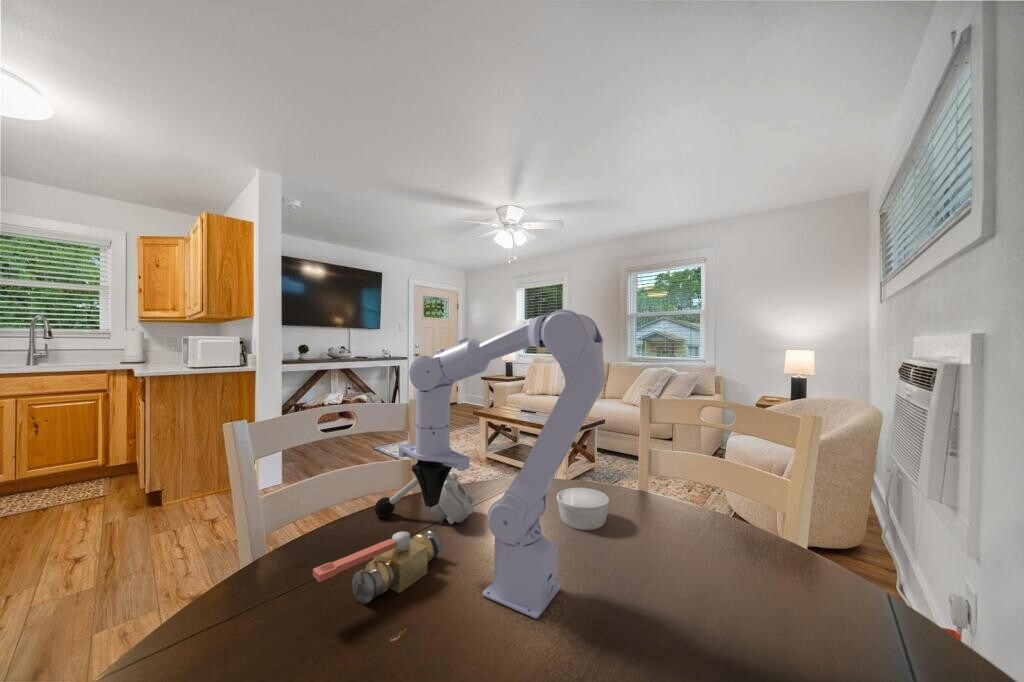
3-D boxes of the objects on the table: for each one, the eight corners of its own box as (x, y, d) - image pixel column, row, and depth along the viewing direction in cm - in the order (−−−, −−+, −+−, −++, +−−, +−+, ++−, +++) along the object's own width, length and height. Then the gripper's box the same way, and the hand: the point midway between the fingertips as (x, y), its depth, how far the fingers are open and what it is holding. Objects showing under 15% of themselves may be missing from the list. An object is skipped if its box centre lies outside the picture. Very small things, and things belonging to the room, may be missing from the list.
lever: (403, 540, 64) (404, 529, 64) (413, 546, 62) (413, 535, 62) (311, 579, 53) (312, 566, 53) (319, 588, 51) (319, 575, 51)
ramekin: (547, 514, 85) (547, 491, 85) (588, 506, 90) (588, 484, 90) (575, 538, 75) (576, 511, 75) (620, 527, 80) (620, 502, 80)
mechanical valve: (472, 517, 77) (427, 459, 79) (404, 574, 77) (361, 514, 79) (480, 501, 87) (439, 449, 89) (420, 550, 87) (381, 498, 89)
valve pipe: (420, 550, 70) (420, 524, 70) (445, 560, 67) (445, 532, 67) (348, 595, 57) (348, 563, 57) (374, 610, 54) (375, 576, 54)
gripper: (480, 426, 65) (479, 505, 65) (419, 417, 73) (418, 488, 72) (454, 434, 59) (453, 522, 59) (390, 423, 67) (388, 501, 66)
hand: (432, 504), depth 65 cm, fingers closed
